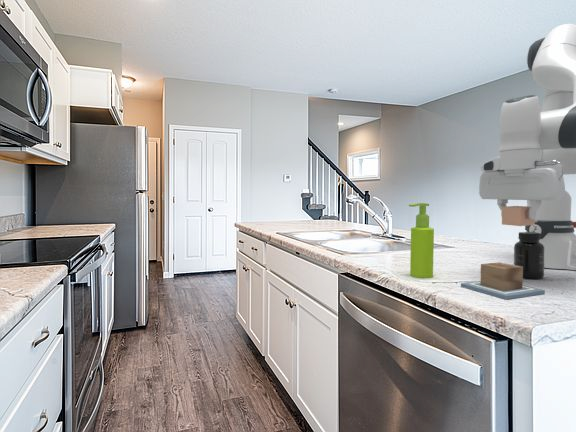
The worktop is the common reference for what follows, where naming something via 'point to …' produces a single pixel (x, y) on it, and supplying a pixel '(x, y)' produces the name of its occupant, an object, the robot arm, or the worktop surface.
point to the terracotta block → (516, 216)
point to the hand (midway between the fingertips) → (517, 218)
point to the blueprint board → (506, 295)
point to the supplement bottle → (530, 255)
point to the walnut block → (501, 276)
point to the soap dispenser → (422, 245)
